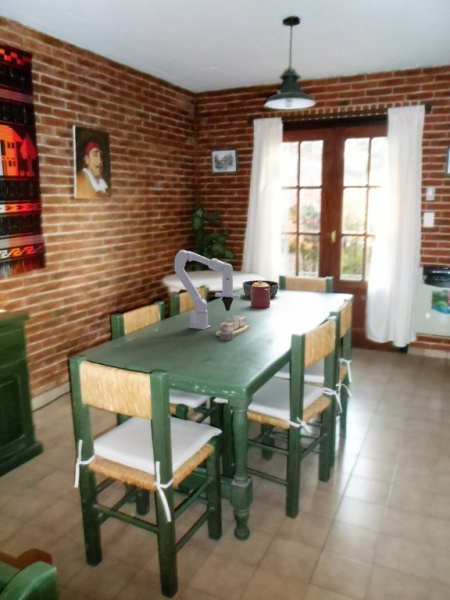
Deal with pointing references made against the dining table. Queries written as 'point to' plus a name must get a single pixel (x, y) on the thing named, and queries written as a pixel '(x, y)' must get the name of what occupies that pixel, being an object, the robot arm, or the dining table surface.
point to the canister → (260, 295)
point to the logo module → (234, 320)
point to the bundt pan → (272, 285)
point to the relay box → (226, 336)
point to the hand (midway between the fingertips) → (227, 310)
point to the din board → (230, 327)
